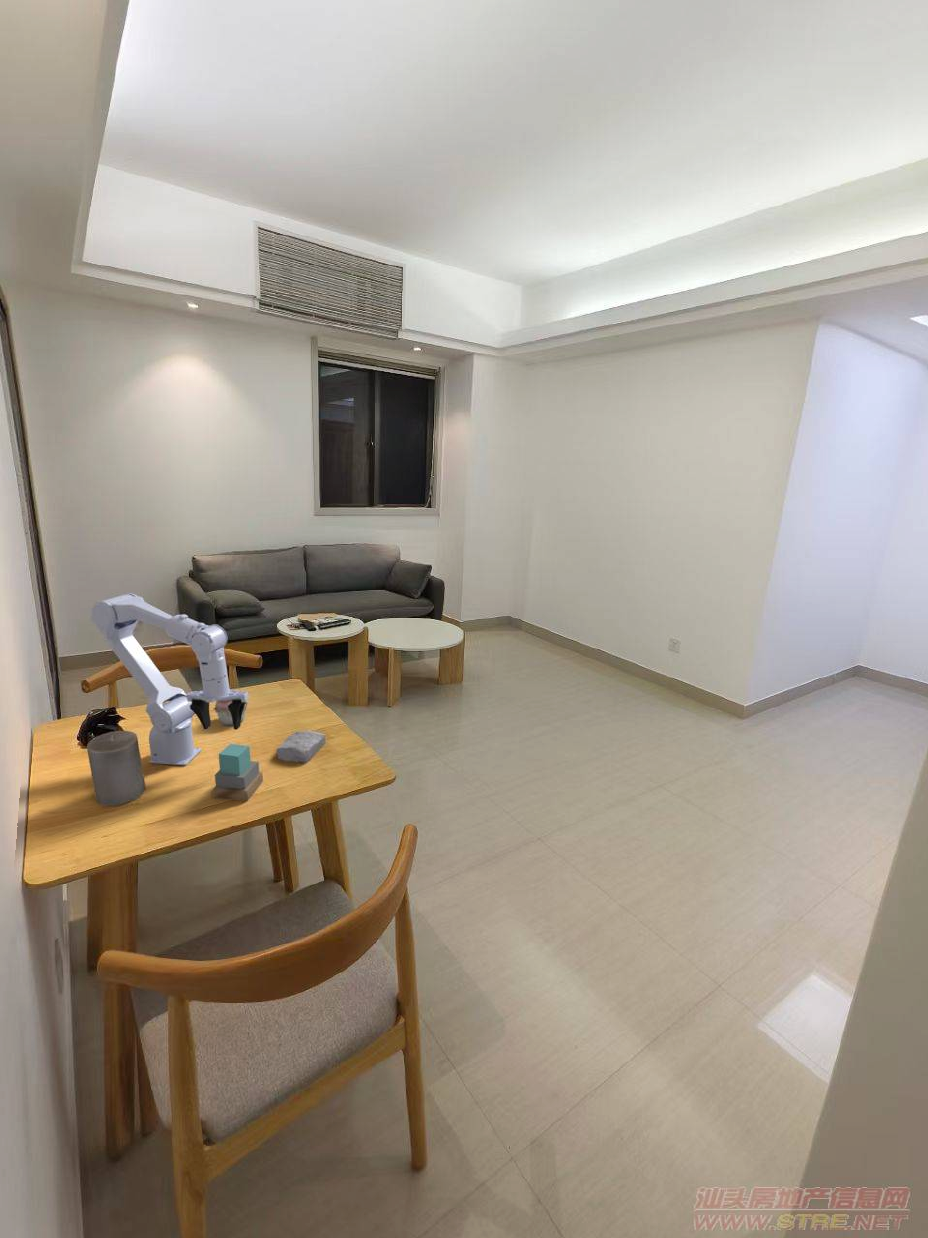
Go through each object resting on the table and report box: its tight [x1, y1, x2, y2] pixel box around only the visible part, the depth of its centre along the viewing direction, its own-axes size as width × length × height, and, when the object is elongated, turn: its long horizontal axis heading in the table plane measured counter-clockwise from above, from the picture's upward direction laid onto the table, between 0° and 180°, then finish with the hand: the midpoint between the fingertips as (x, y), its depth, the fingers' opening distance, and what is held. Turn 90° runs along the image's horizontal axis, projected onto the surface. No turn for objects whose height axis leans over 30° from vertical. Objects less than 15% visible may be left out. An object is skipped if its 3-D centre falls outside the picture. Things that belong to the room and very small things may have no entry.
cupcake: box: [213, 701, 249, 726], centre depth 161 cm, size 9×9×10 cm
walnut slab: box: [212, 771, 264, 802], centre depth 130 cm, size 8×8×3 cm
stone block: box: [276, 729, 326, 764], centre depth 148 cm, size 12×5×10 cm
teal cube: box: [218, 743, 252, 775], centre depth 128 cm, size 5×5×5 cm
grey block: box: [214, 760, 260, 789], centre depth 129 cm, size 7×7×3 cm
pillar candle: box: [86, 730, 146, 807], centre depth 125 cm, size 10×10×15 cm
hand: (222, 727), depth 137 cm, fingers open, 7 cm apart
